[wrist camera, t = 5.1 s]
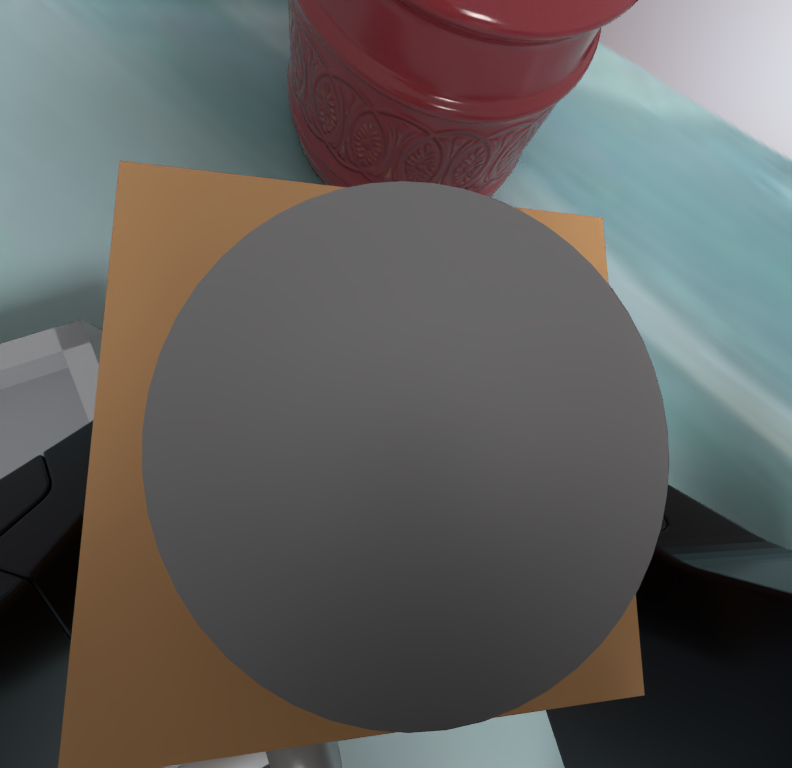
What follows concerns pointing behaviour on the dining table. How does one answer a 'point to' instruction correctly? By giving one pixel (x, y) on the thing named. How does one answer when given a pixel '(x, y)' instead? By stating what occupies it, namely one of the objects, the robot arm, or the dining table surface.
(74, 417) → the chassis
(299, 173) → the dining table surface
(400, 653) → the block with grey dome
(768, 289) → the dining table surface
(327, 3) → the canister
